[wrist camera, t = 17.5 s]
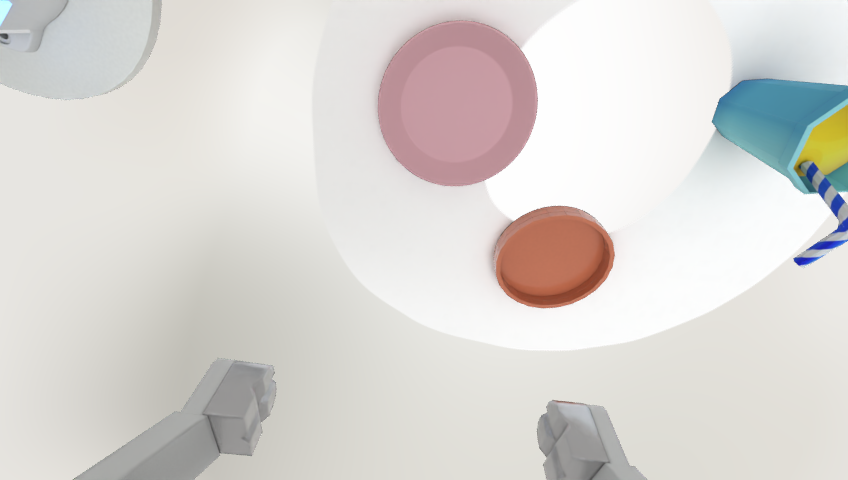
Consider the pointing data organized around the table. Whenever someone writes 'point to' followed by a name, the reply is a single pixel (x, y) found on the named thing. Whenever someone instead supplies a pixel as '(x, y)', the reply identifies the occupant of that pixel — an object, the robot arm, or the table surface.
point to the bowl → (553, 257)
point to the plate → (457, 103)
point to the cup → (795, 140)
